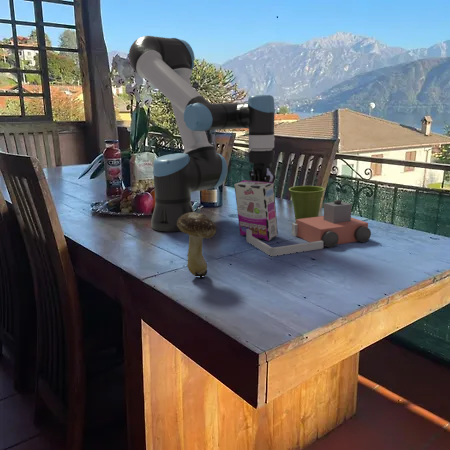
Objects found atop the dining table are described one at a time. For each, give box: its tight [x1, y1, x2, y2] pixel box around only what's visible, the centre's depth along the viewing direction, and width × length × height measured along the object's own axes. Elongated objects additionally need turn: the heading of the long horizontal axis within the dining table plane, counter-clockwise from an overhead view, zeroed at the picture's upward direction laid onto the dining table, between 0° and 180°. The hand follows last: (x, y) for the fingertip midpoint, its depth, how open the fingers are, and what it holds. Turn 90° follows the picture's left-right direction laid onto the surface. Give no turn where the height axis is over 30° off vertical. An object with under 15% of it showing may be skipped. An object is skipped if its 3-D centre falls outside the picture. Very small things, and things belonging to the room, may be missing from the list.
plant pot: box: [288, 185, 326, 221], centre depth 151 cm, size 12×12×11 cm
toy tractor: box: [245, 199, 372, 257], centre depth 129 cm, size 32×17×11 cm, turn 112°
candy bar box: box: [233, 179, 279, 242], centre depth 133 cm, size 11×5×16 cm, turn 49°
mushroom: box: [177, 211, 217, 277], centre depth 102 cm, size 9×9×15 cm
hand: (262, 226), depth 139 cm, fingers closed
